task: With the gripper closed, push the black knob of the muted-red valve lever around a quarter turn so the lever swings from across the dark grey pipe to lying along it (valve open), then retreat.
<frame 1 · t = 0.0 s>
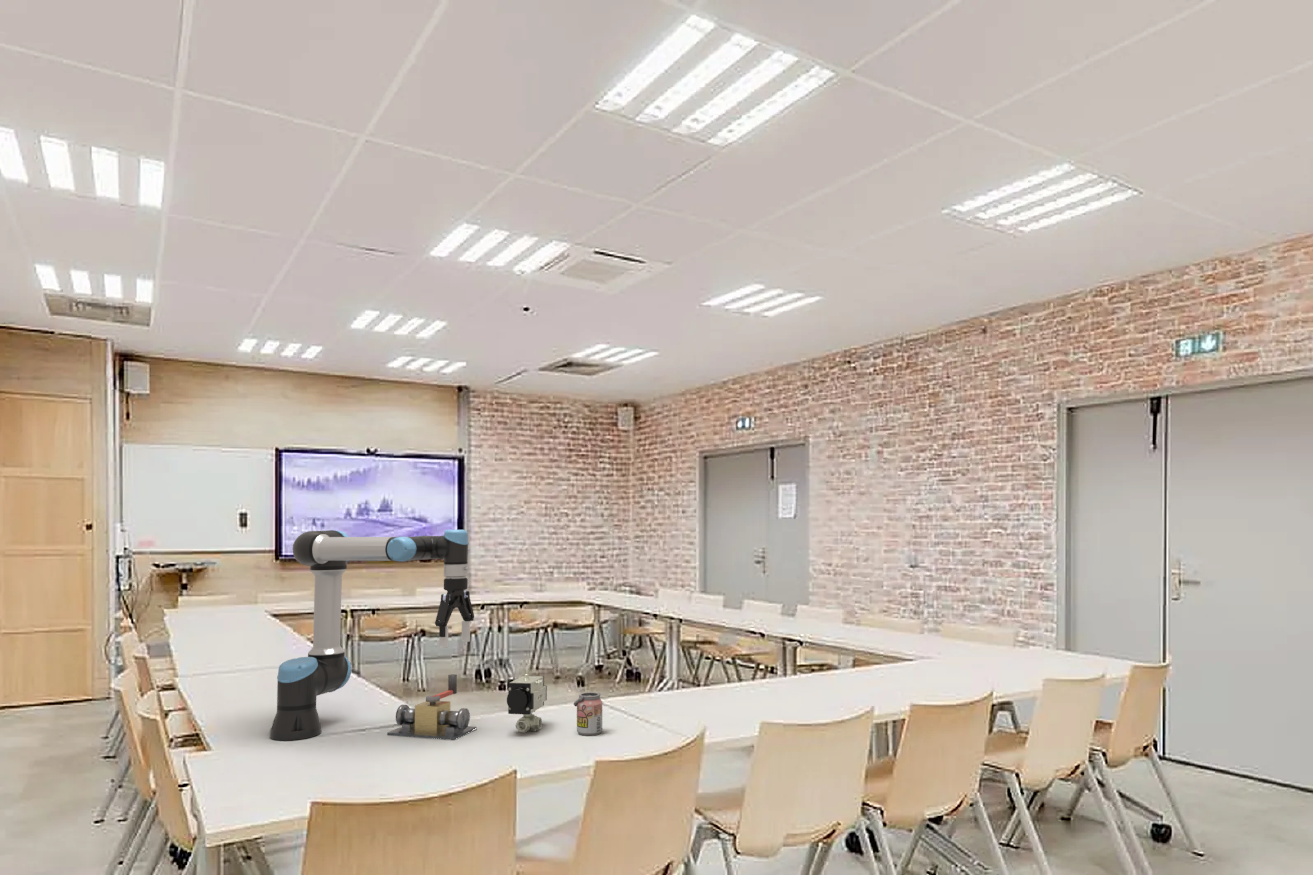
hand: (454, 644, 273), 28 cm above the table, fingers open, 13 cm apart
valve assembly: (432, 732, 273), on the table
lever: (442, 687, 280), point 13 cm above the table, hinge at 90.0°
ball valve: (528, 731, 274), on the table
beverage can: (588, 733, 270), on the table
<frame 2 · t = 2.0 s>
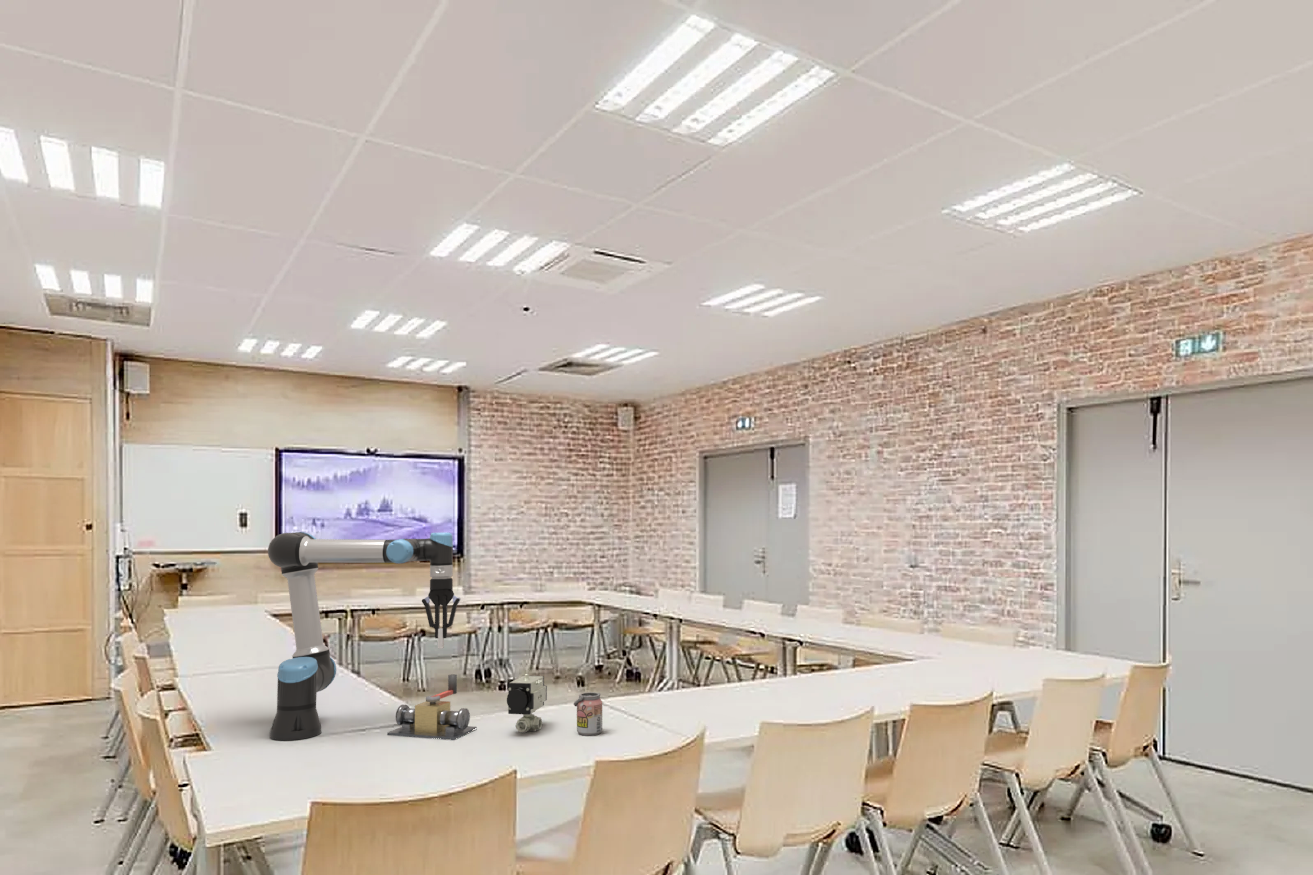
hand: (440, 648, 289), 25 cm above the table, fingers closed
nothing on the table moved.
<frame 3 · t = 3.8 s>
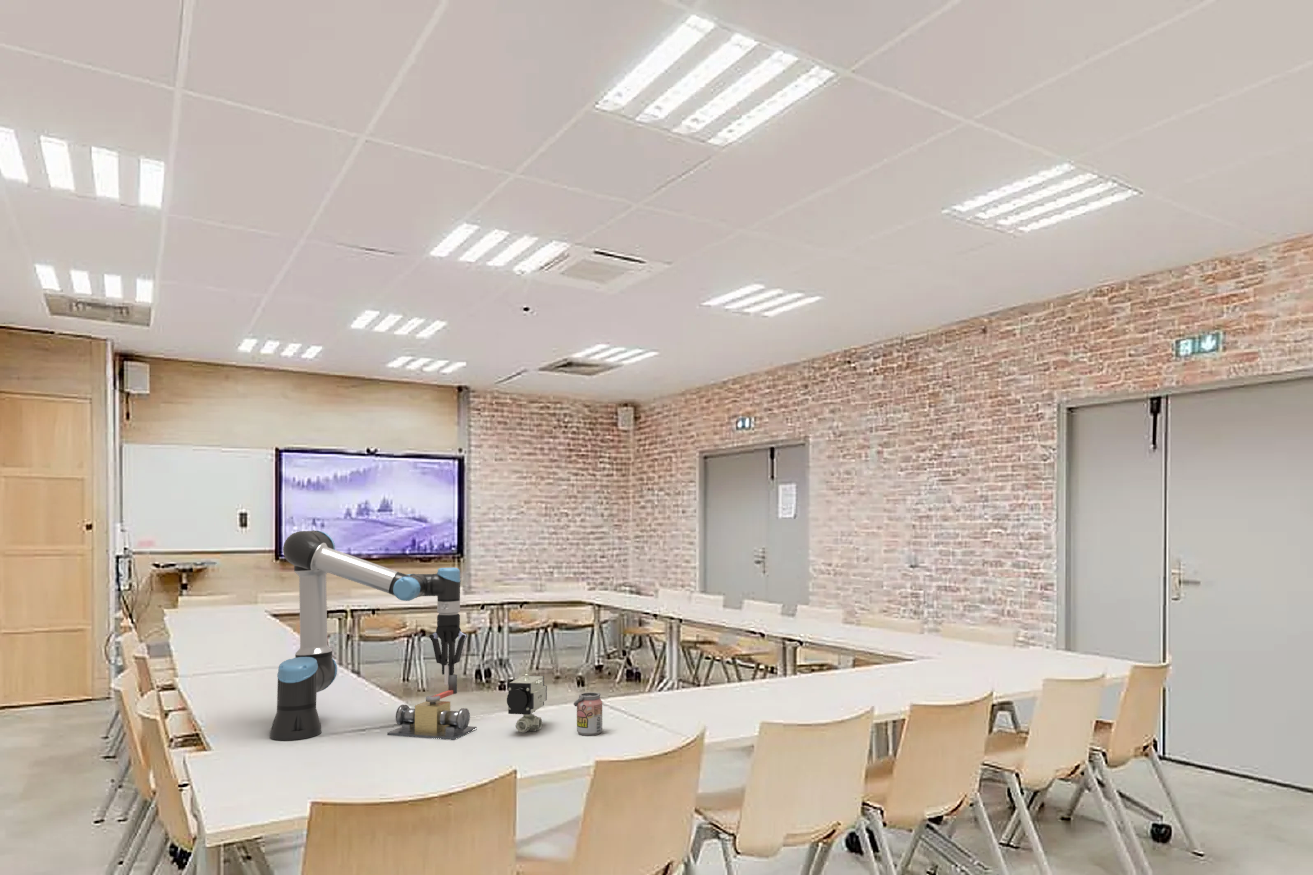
hand: (447, 684, 287), 13 cm above the table, fingers closed
lever: (442, 687, 280), point 13 cm above the table, hinge at 89.5°, touching gripper
everything else where it was.
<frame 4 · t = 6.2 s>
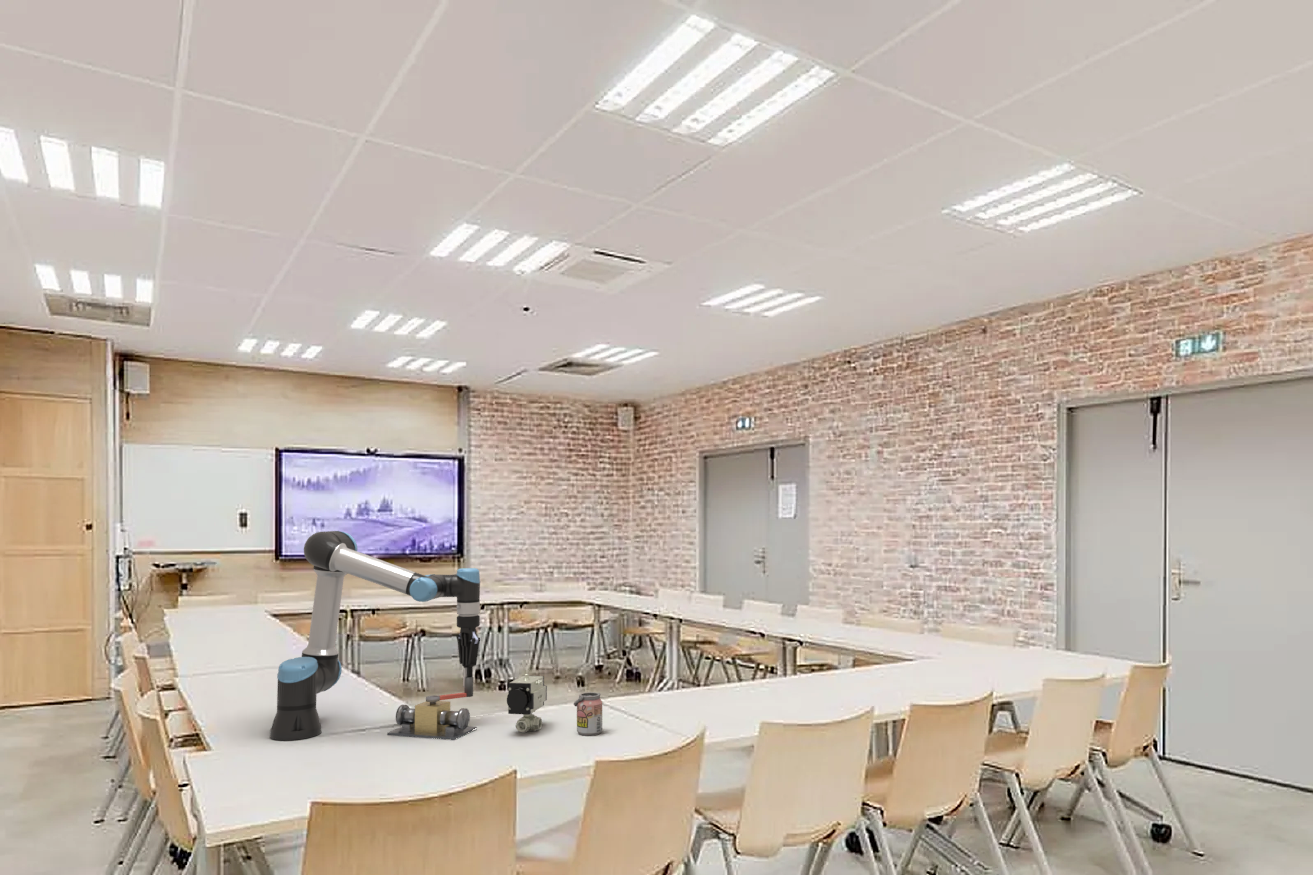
hand: (467, 686, 283), 13 cm above the table, fingers closed
lever: (449, 689, 278), point 13 cm above the table, hinge at 49.7°, touching gripper
everything else where it was.
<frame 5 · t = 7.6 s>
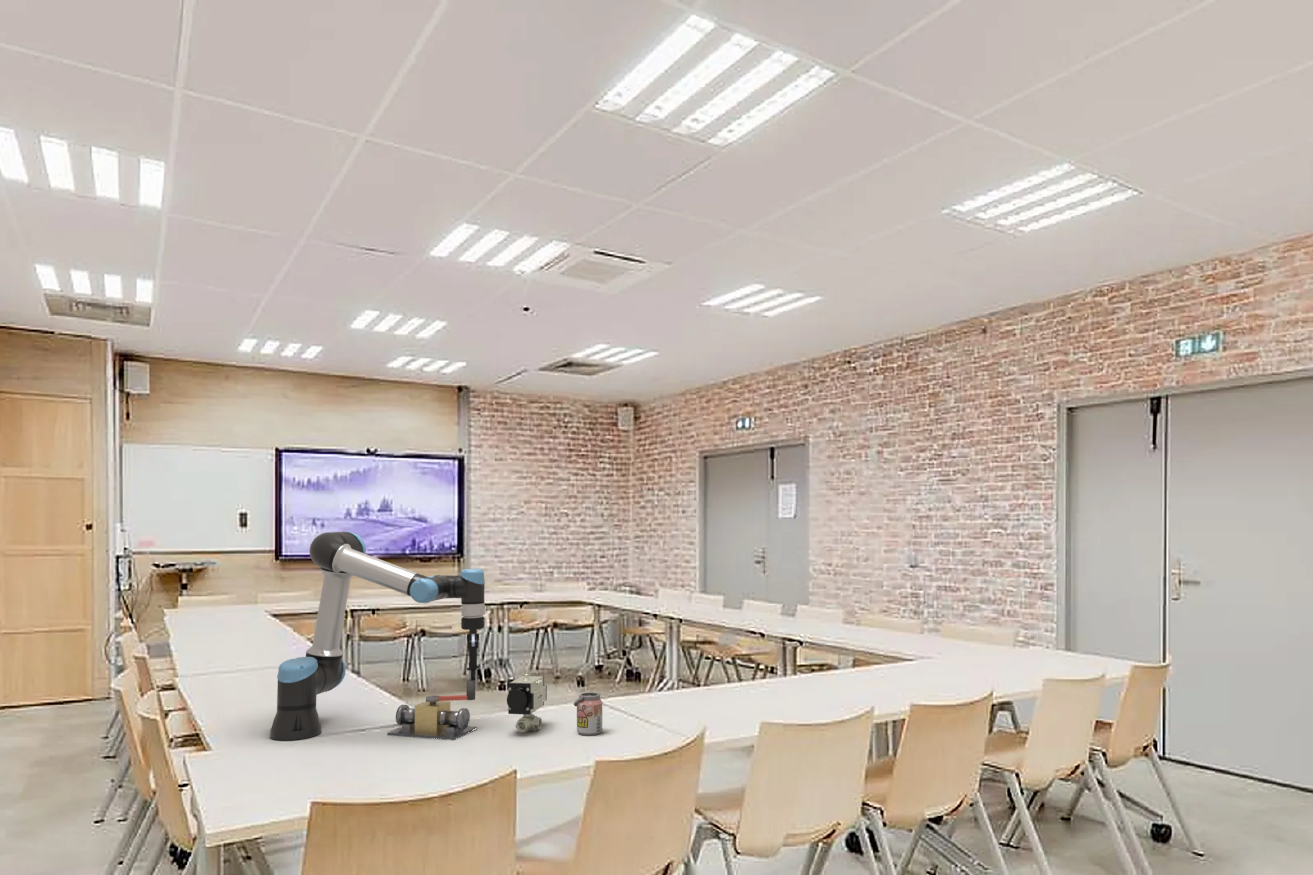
hand: (472, 689, 278), 13 cm above the table, fingers closed
lever: (450, 690, 275), point 13 cm above the table, hinge at 24.0°, touching gripper
everything else where it was.
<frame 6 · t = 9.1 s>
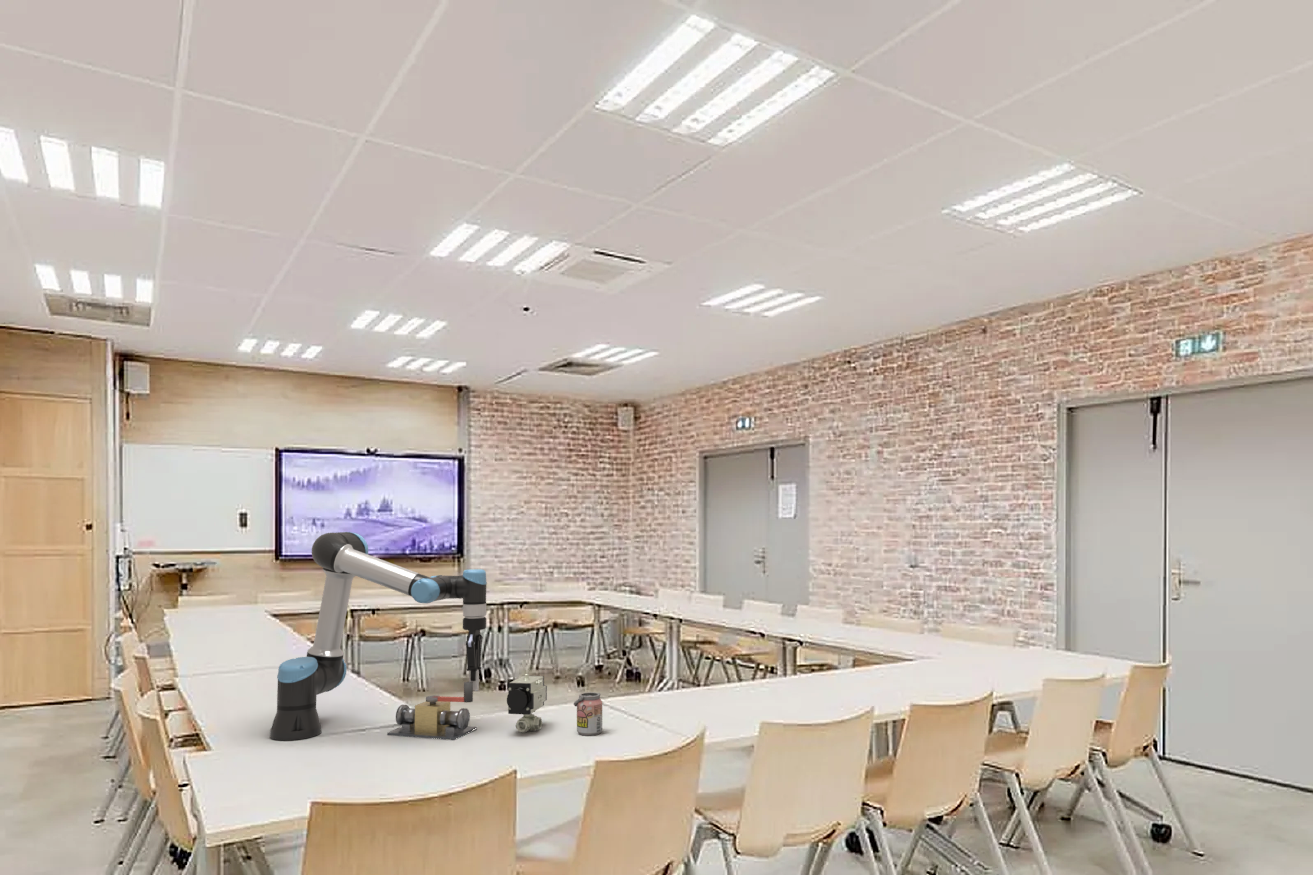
hand: (473, 690, 277), 13 cm above the table, fingers closed
lever: (449, 691, 274), point 13 cm above the table, hinge at 7.5°
everything else where it was.
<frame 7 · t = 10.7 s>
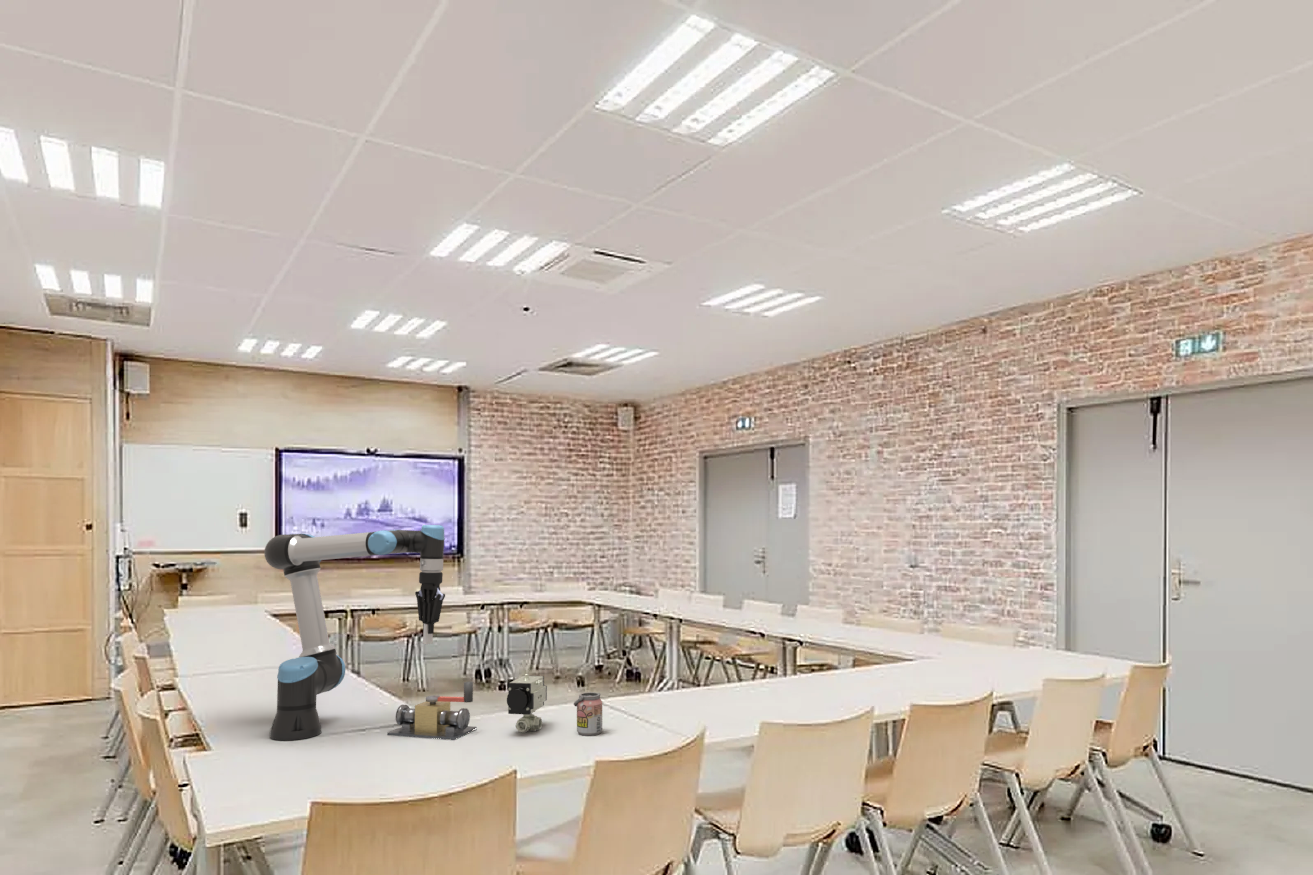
hand: (427, 643, 281), 27 cm above the table, fingers closed
nothing on the table moved.
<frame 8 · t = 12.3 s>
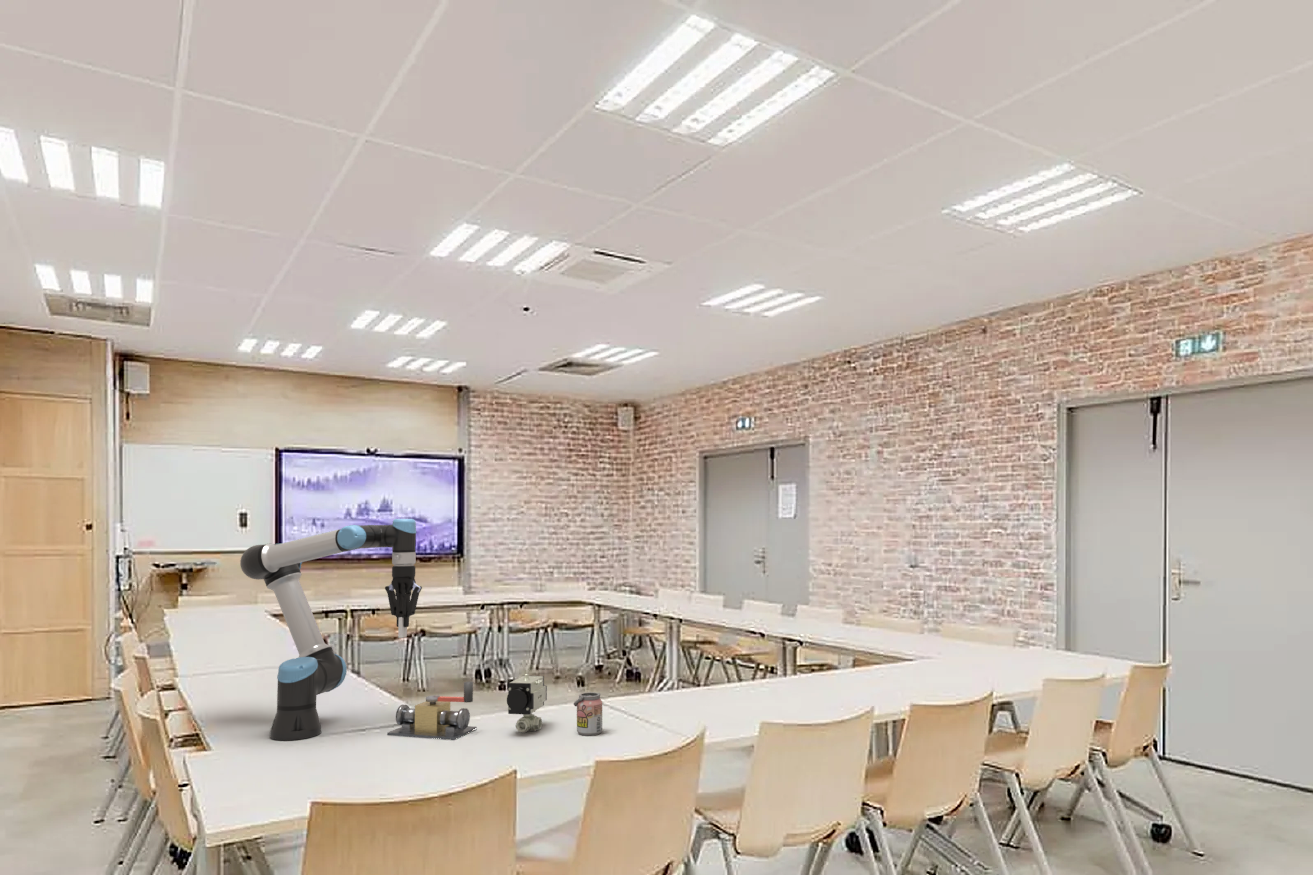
hand: (402, 637, 282), 29 cm above the table, fingers closed
nothing on the table moved.
at the end: lever at +8° (first picture: +90°) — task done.
